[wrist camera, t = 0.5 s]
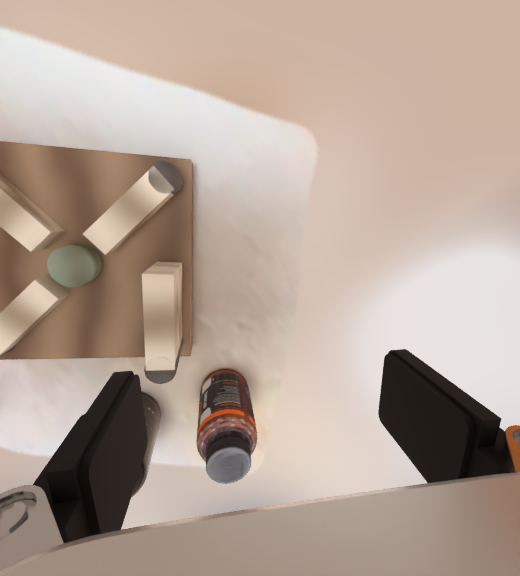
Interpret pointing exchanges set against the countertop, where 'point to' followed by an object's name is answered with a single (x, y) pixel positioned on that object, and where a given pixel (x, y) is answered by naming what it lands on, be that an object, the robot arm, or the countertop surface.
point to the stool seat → (87, 248)
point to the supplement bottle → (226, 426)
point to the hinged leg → (162, 320)
